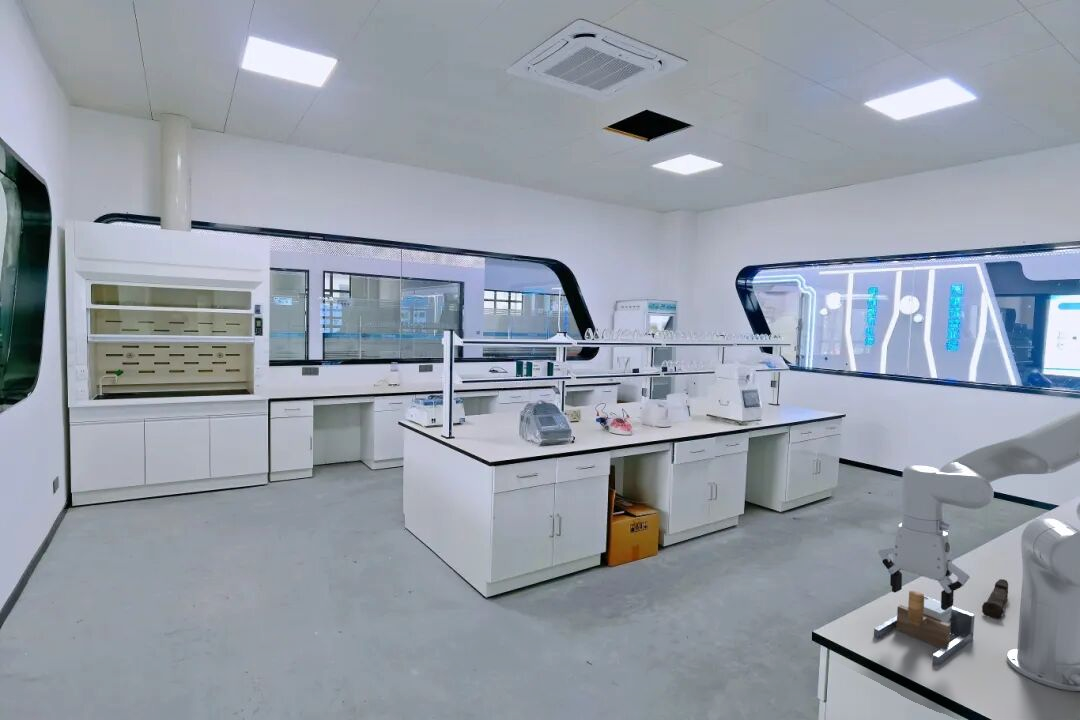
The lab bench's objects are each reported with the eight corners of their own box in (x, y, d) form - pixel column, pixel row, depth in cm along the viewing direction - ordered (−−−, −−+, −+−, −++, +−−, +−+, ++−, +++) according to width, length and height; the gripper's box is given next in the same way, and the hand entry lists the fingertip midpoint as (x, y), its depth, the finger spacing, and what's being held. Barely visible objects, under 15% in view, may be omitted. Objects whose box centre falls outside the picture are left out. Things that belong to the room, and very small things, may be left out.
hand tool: (1001, 622, 133) (1003, 604, 133) (981, 615, 136) (982, 597, 136) (1016, 598, 145) (1018, 581, 145) (997, 592, 148) (998, 575, 148)
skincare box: (938, 645, 122) (940, 613, 122) (908, 632, 128) (910, 601, 127) (950, 637, 126) (952, 606, 125) (920, 625, 131) (922, 595, 130)
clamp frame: (937, 666, 115) (939, 638, 114) (873, 636, 125) (875, 611, 125) (972, 640, 125) (974, 614, 124) (910, 615, 135) (912, 591, 135)
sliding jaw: (936, 657, 117) (940, 605, 117) (886, 635, 126) (889, 586, 125) (949, 648, 121) (952, 597, 120) (899, 627, 129) (902, 579, 128)
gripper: (976, 531, 115) (974, 610, 116) (888, 509, 130) (886, 580, 131) (961, 538, 111) (959, 621, 112) (872, 515, 126) (870, 588, 127)
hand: (920, 599), depth 121 cm, fingers open, 9 cm apart
